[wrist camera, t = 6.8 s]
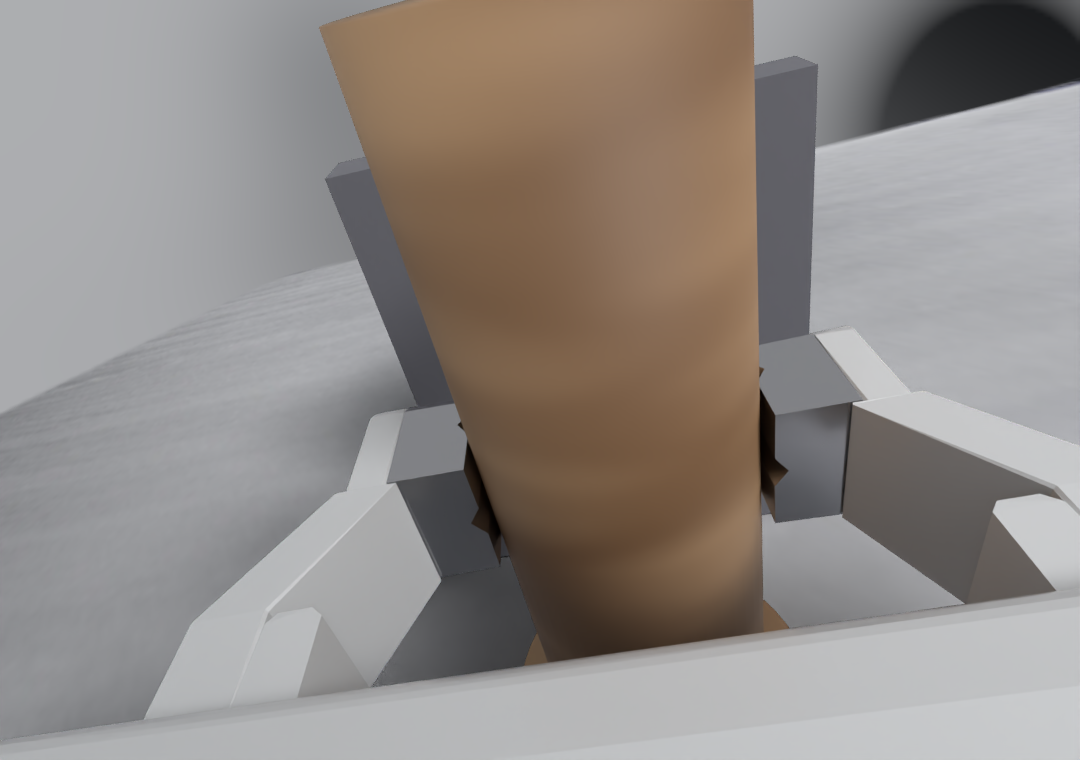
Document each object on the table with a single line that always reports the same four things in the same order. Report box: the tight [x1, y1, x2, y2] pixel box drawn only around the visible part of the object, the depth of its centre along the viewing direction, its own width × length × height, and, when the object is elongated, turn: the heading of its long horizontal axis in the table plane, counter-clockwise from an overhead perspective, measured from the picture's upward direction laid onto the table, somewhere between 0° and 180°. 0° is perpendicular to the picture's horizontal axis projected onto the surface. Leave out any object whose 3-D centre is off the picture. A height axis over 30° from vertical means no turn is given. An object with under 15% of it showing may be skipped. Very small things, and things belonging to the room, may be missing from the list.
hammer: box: [319, 0, 789, 666], centre depth 14 cm, size 5×18×12 cm, turn 1°
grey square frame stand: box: [325, 56, 818, 557], centre depth 16 cm, size 12×6×10 cm, turn 91°
